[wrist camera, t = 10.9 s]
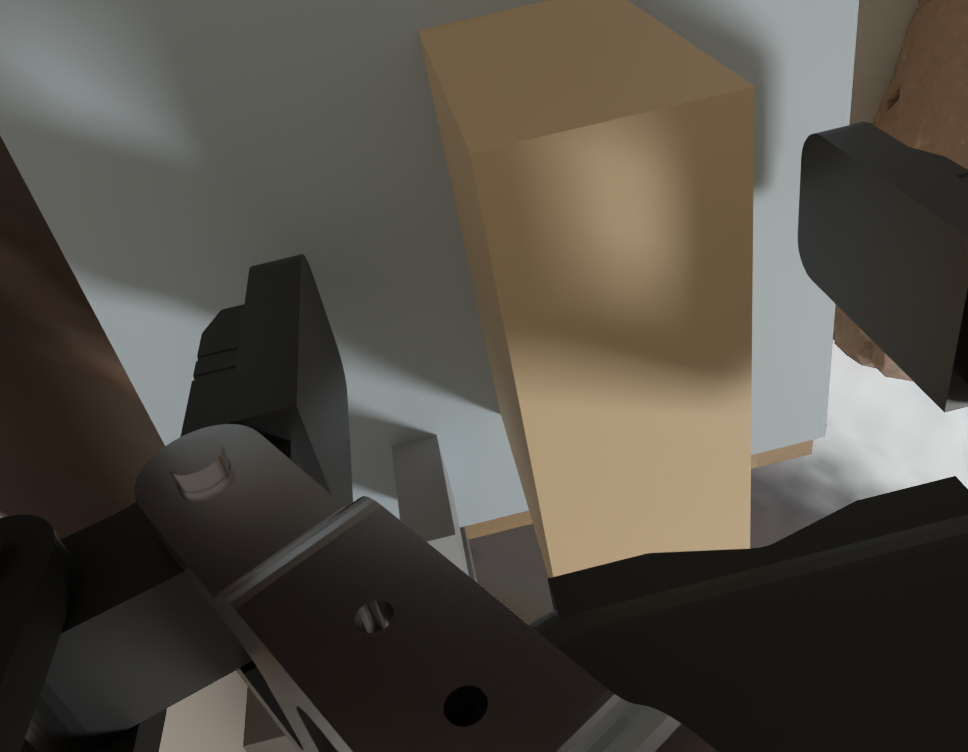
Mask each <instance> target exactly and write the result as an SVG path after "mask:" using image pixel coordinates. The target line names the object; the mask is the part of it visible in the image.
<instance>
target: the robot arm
mask: <svg viewBox="0 0 968 752" xmlns="http://www.w3.org/2000/svg"><path fill="white" fill-rule="evenodd" d="M798 249H799V254H800V258H801V261H802V264H803V267H804V269H805V271H806V273H807V275H808V276H809V278H810V279H811V280H812V281H813V282H814V283H815V284H816V285H817V286H818V287H819V288H820V289H821V290H822V291H823V292H824V293H825V294H826V295H827V296H828V297H829V298H830V299H831V300H832V301H833V302H834V303H835V304H836V305H837V306H838V307H839V308H840V309H841V310H842V311H843V312H844V313H845V314H846V315H847V316H848V317H849V318H850V319H851V320H852V321H853V322H854V323H855V324H856V325H857V326H858V327H859V328H860V329H861V330H862V331H863V332H864V333H865V334H866V335H867V336H868V337H869V338H870V339H871V340H872V341H873V342H874V343H875V344H876V345H877V346H878V347H879V348H880V349H881V350H882V351H883V352H884V353H885V354H886V355H887V356H888V357H889V358H890V359H891V360H892V361H893V362H894V363H895V364H896V365H897V366H898V367H899V368H900V369H901V370H903V371H904V372H905V373H906V374H907V375H908V376H909V377H910V378H911V379H912V380H913V381H914V382H915V383H916V384H917V385H918V386H919V387H920V388H921V389H922V390H923V391H924V392H925V393H926V394H927V395H928V396H929V397H930V398H931V399H932V400H933V401H934V402H935V403H936V404H937V405H938V406H939V407H940V408H941V409H942V410H943V411H944V412H948V411H952V410H956V409H960V408H964V407H968V170H967V169H966V168H964V167H962V166H961V165H959V164H957V163H955V162H954V161H952V160H950V159H949V158H947V157H945V156H941V155H937V154H934V153H930V152H926V151H922V150H919V149H915V148H911V147H908V146H907V145H905V144H903V143H902V142H900V141H899V140H897V139H895V138H894V137H892V136H890V135H889V134H887V133H885V132H884V131H882V130H880V129H879V128H877V127H875V126H874V125H872V124H870V123H868V122H860V123H856V124H852V125H848V126H844V127H839V128H835V129H831V130H827V131H822V132H818V133H814V134H811V135H809V136H808V137H807V139H806V140H805V142H804V145H803V149H802V155H801V173H800V195H799V217H798ZM197 358H198V361H196V364H195V369H194V373H193V377H194V381H192V383H191V388H190V393H189V398H188V402H187V407H186V412H185V417H184V422H183V426H182V431H181V436H180V438H178V439H176V440H174V441H173V442H171V443H170V444H168V445H166V446H165V447H164V448H162V449H161V450H160V451H159V452H157V453H156V454H155V455H154V456H153V457H152V458H151V459H150V460H149V461H148V462H147V463H146V465H145V466H144V467H143V468H142V470H141V472H140V474H139V475H138V477H137V480H136V483H135V488H134V495H135V500H136V502H135V503H134V504H132V505H130V506H129V507H127V508H126V509H124V510H122V511H120V512H118V513H116V514H114V515H112V516H110V517H108V518H106V519H104V520H102V521H100V522H97V523H95V524H93V525H91V526H89V527H87V528H85V529H82V530H80V531H78V532H76V533H74V534H72V535H70V536H68V537H65V538H63V539H61V540H60V538H59V537H58V535H57V534H56V532H55V531H54V529H53V528H52V527H51V525H50V524H49V523H48V522H47V521H46V520H44V519H43V518H40V517H37V516H32V515H14V516H8V517H3V518H0V752H158V751H159V747H160V742H161V737H162V731H163V727H164V722H165V717H166V710H167V708H168V707H170V706H171V705H173V704H175V703H177V702H179V701H181V700H182V699H184V698H186V697H188V696H190V695H192V694H193V693H195V692H197V691H199V690H201V689H202V688H204V687H206V686H208V685H210V684H212V683H213V682H215V681H217V680H219V679H220V678H222V677H224V676H226V675H228V674H230V673H232V672H233V671H235V670H236V671H237V672H238V674H239V675H240V676H241V678H242V679H243V680H244V682H245V683H246V684H247V685H248V687H249V688H250V689H251V691H252V692H253V693H254V695H255V696H256V697H257V699H258V700H259V701H260V703H261V704H262V705H263V707H264V708H265V709H266V711H267V712H268V713H269V714H270V716H271V717H272V718H273V720H274V721H275V722H276V724H277V725H278V726H279V728H280V729H281V730H282V732H283V733H284V734H285V735H286V737H287V738H288V739H289V741H290V742H291V743H292V745H293V746H294V747H295V749H296V750H297V751H298V752H968V489H967V488H966V487H965V486H964V485H963V484H962V483H961V482H960V481H959V479H958V478H957V477H956V476H954V477H950V478H946V479H942V480H938V481H934V482H930V483H926V484H922V485H918V486H914V487H910V488H906V489H902V490H898V491H894V492H890V493H886V494H882V495H878V496H874V497H870V498H866V499H862V500H858V501H855V502H853V503H851V504H849V505H847V506H846V507H844V508H842V509H840V510H838V511H836V512H834V513H832V514H830V515H828V516H826V517H824V518H822V519H820V520H818V521H817V522H815V523H813V524H811V525H809V526H807V527H805V528H803V529H801V530H799V531H797V532H795V533H793V534H791V535H789V536H787V537H786V538H784V539H782V540H780V541H778V542H776V543H774V544H771V545H769V546H765V547H761V548H752V549H729V550H706V551H684V552H661V553H647V554H643V555H639V556H635V557H631V558H627V559H623V560H619V561H615V562H611V563H607V564H603V565H599V566H595V567H591V568H587V569H583V570H579V571H575V572H571V573H567V574H563V575H559V576H555V577H551V578H548V583H549V588H550V593H551V598H552V603H553V608H554V611H552V612H550V613H548V614H546V615H544V616H542V617H541V618H539V619H537V620H535V621H534V622H532V623H531V624H527V623H526V622H525V621H524V620H522V619H521V618H520V617H519V616H517V615H516V614H515V613H514V612H513V611H511V610H510V609H509V608H508V607H506V606H505V605H504V604H503V603H501V602H500V601H499V600H498V599H497V598H495V597H494V596H493V595H492V594H490V593H489V592H488V591H487V590H485V589H484V588H483V587H482V586H481V585H479V584H478V583H477V582H476V581H474V580H473V579H472V578H471V577H469V576H468V575H467V574H466V573H464V572H463V571H462V570H461V569H460V568H458V567H457V566H456V565H455V564H453V563H452V562H451V561H450V560H448V559H447V558H446V557H445V556H444V555H442V554H441V553H440V552H439V551H437V550H436V549H435V548H434V547H432V546H431V545H430V544H429V543H428V542H426V541H425V540H424V539H423V538H421V537H420V536H419V535H418V534H416V533H415V532H414V531H413V530H412V529H410V528H409V527H408V526H407V525H405V524H404V523H403V522H402V521H400V520H399V519H398V518H397V517H396V516H394V515H393V514H392V513H391V512H389V511H388V510H387V509H386V508H384V507H383V506H382V505H381V504H379V503H378V502H377V501H375V500H373V499H372V498H370V497H366V496H361V497H360V498H359V499H357V500H356V501H354V502H353V490H352V471H351V452H350V433H349V415H348V396H347V385H346V378H345V373H344V369H343V365H342V361H341V357H340V353H339V350H338V347H337V344H336V341H335V338H334V335H333V332H332V329H331V326H330V323H329V320H328V317H327V315H326V312H325V309H324V306H323V303H322V300H321V297H320V294H319V291H318V288H317V285H316V282H315V279H314V276H313V273H312V271H311V268H310V265H309V263H308V261H307V259H306V257H305V256H304V254H300V255H296V256H292V257H288V258H284V259H279V260H275V261H271V262H267V263H263V264H258V265H254V266H251V267H250V268H249V274H248V281H247V289H246V296H245V303H244V304H243V305H239V306H235V307H230V308H226V309H222V310H220V312H219V313H218V314H217V315H216V317H215V318H214V319H213V320H212V322H211V323H210V324H209V325H208V326H207V328H206V329H205V330H204V331H203V333H202V335H201V340H200V344H199V349H198V354H197Z"/></svg>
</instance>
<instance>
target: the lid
mask: <svg viewBox="0 0 968 752" xmlns="http://www.w3.org/2000/svg"><path fill="white" fill-rule="evenodd" d="M858 9H859V0H0V136H1V138H2V140H3V142H4V144H5V145H6V147H7V149H8V151H9V153H10V155H11V157H12V159H13V161H14V162H15V164H16V166H17V168H18V170H19V172H20V174H21V176H22V177H23V179H24V181H25V183H26V185H27V187H28V189H29V191H30V192H31V194H32V196H33V198H34V200H35V202H36V204H37V206H38V208H39V209H40V211H41V213H42V215H43V217H44V219H45V221H46V223H47V224H48V226H49V228H50V230H51V232H52V234H53V236H54V238H55V239H56V241H57V243H58V245H59V247H60V249H61V251H62V253H63V255H64V256H65V258H66V260H67V262H68V264H69V266H70V268H71V270H72V271H73V273H74V275H75V277H76V279H77V281H78V283H79V285H80V286H81V288H82V290H83V292H84V294H85V296H86V298H87V300H88V302H89V303H90V305H91V307H92V309H93V311H94V313H95V315H96V317H97V318H98V320H99V322H100V324H101V326H102V328H103V330H104V332H105V333H106V335H107V337H108V339H109V341H110V343H111V345H112V347H113V349H114V350H115V352H116V354H117V356H118V358H119V360H120V362H121V364H122V365H123V367H124V369H125V371H126V373H127V375H128V377H129V379H130V381H131V382H132V384H133V386H134V388H135V390H136V392H137V394H138V396H139V397H140V399H141V401H142V403H143V405H144V407H145V409H146V411H147V412H148V414H149V416H150V418H151V420H152V422H153V424H154V426H155V428H156V429H157V431H158V433H159V435H160V437H161V439H162V441H163V443H164V444H165V446H166V445H168V444H170V443H171V442H173V441H174V440H176V439H178V438H180V436H181V431H182V426H183V422H184V417H185V412H186V407H187V402H188V398H189V393H190V388H191V383H192V381H194V377H193V373H194V369H195V364H196V361H198V358H197V354H198V349H199V344H200V340H201V335H202V333H203V331H204V330H205V329H206V328H207V326H208V325H209V324H210V323H211V322H212V320H213V319H214V318H215V317H216V315H217V314H218V313H219V312H220V310H222V309H226V308H230V307H235V306H239V305H243V304H244V303H245V296H246V289H247V281H248V274H249V268H250V267H251V266H254V265H258V264H263V263H267V262H271V261H275V260H279V259H284V258H288V257H292V256H296V255H300V254H304V256H305V257H306V259H307V261H308V263H309V265H310V268H311V271H312V273H313V276H314V279H315V282H316V285H317V288H318V291H319V294H320V297H321V300H322V303H323V306H324V309H325V312H326V315H327V317H328V320H329V323H330V326H331V329H332V332H333V335H334V338H335V341H336V344H337V347H338V350H339V353H340V357H341V361H342V365H343V369H344V373H345V378H346V385H347V396H348V415H349V433H350V452H351V471H352V490H353V502H354V501H356V500H357V499H359V498H360V497H361V496H366V497H370V498H372V499H373V500H375V501H377V502H378V503H379V504H381V505H382V506H383V507H384V508H386V509H387V510H388V511H389V512H391V513H392V514H393V515H394V516H396V517H397V518H398V519H399V520H400V521H402V522H403V523H404V524H405V525H407V526H408V527H409V528H410V529H412V530H413V531H414V532H415V533H416V534H418V535H419V536H420V537H421V538H423V539H424V540H425V541H426V542H428V543H429V544H430V545H431V546H432V547H434V548H435V549H436V550H437V551H439V552H440V553H441V554H442V555H444V556H445V557H446V558H447V559H448V560H450V561H451V562H452V563H453V564H455V565H456V566H457V567H458V568H460V569H461V570H462V571H463V572H464V573H466V574H467V575H468V576H469V573H468V568H467V563H466V558H465V552H464V547H463V542H462V537H461V532H460V527H464V526H468V525H472V524H476V523H480V522H484V521H489V520H493V519H497V518H501V517H505V516H509V515H513V514H517V513H521V512H525V511H529V512H530V515H531V519H532V522H533V525H534V529H535V532H536V536H537V539H538V542H539V546H540V549H541V552H542V556H543V559H544V563H545V566H546V569H547V573H548V576H549V578H551V577H555V576H559V575H563V574H567V573H571V572H575V571H579V570H583V569H587V568H591V567H595V566H599V565H603V564H607V563H611V562H615V561H619V560H623V559H627V558H631V557H635V556H639V555H643V554H647V553H661V552H684V551H706V550H729V549H750V495H751V455H753V454H757V453H761V452H765V451H769V450H773V449H777V448H781V447H785V446H789V445H793V444H797V443H801V442H805V441H809V440H813V439H817V438H821V437H825V432H826V420H827V407H828V394H829V381H830V368H831V355H832V343H833V330H834V317H835V303H834V302H833V301H832V300H831V299H830V298H829V297H828V296H827V295H826V294H825V293H824V292H823V291H822V290H821V289H820V288H819V287H818V286H817V285H816V284H815V283H814V282H813V281H812V280H811V279H810V278H809V276H808V275H807V273H806V271H805V269H804V267H803V264H802V261H801V258H800V254H799V249H798V217H799V195H800V173H801V155H802V149H803V145H804V142H805V140H806V139H807V137H808V136H809V135H811V134H814V133H818V132H822V131H827V130H831V129H835V128H839V127H844V126H848V125H849V124H850V111H851V98H852V86H853V73H854V60H855V47H856V34H857V21H858Z"/></svg>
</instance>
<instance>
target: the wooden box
mask: <svg viewBox="0 0 968 752" xmlns="http://www.w3.org/2000/svg"><path fill="white" fill-rule="evenodd" d="M812 442H813V440H809V441H805V442H801V443H797V444H793V445H789V446H785V447H781V448H777V449H773V450H769V451H765V452H761V453H757V454H753V455H751V469H753V468H757V467H761V466H765V465H769V464H773V463H777V462H781V461H785V460H789V459H793V458H797V457H801V456H805V455H809V454H812ZM532 523H533V522H532V519H531V515H530V512H529V511H525V512H521V513H517V514H513V515H509V516H505V517H501V518H497V519H493V520H489V521H484V522H480V523H476V524H472V525H468V526H464V527H460V532H461V537H462V542H463V547H464V552H465V558H466V563H467V568H468V573H469V577H471V578H472V579H473V580H474V581H476V582H477V579H476V574H475V569H474V564H473V559H472V554H471V549H470V544H469V539H472V538H476V537H480V536H484V535H488V534H492V533H496V532H500V531H504V530H508V529H512V528H516V527H520V526H524V525H528V524H532ZM243 747H244V748H245V750H246V751H247V752H298V751H297V750H296V749H295V747H294V746H293V745H292V743H291V742H290V741H289V739H288V738H287V737H286V735H285V734H284V733H283V732H282V730H281V729H280V728H279V726H278V725H277V724H276V722H275V721H274V720H273V718H272V717H271V716H270V714H269V713H268V712H267V711H266V709H265V708H264V707H263V705H262V704H261V703H260V701H259V700H258V699H257V697H256V696H255V695H254V693H253V692H252V691H251V689H250V688H249V687H248V690H247V704H246V718H245V731H244V743H243Z"/></svg>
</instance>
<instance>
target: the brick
mask: <svg viewBox="0 0 968 752" xmlns="http://www.w3.org/2000/svg"><path fill="white" fill-rule="evenodd" d="M873 125H874V126H875V127H877V128H879V129H880V130H882V131H884V132H885V133H887V134H889V135H890V136H892V137H894V138H895V139H897V140H899V141H900V142H902V143H903V144H905V145H907V146H908V147H911V148H915V149H919V150H922V151H926V152H930V153H934V154H937V155H941V156H945V157H947V158H949V159H950V160H952V161H954V162H955V163H957V164H959V165H961V166H962V167H964V168H966V169H967V170H968V0H920V4H919V8H918V10H917V12H916V14H915V15H914V17H913V19H912V21H911V23H910V25H909V29H908V31H907V33H906V36H905V40H904V43H903V46H902V49H901V52H900V55H899V58H898V61H897V64H896V67H895V72H894V76H893V78H892V80H891V82H890V84H889V86H888V87H887V90H886V92H885V95H884V98H883V101H882V103H881V106H880V108H879V111H878V113H877V115H876V118H875V120H874V123H873ZM833 339H834V340H835V344H836V345H837V346H838V347H839V348H840V349H841V350H842V351H843V352H844V353H845V354H846V355H847V356H849V357H850V358H852V359H853V360H855V361H856V362H858V363H859V364H861V365H864V366H868V367H873V368H877V369H878V370H879V371H880V372H881V373H882V374H883V375H884V376H885V377H891V378H897V379H903V380H909V381H913V380H912V379H911V378H910V377H909V376H908V375H907V374H906V373H905V372H904V371H903V370H901V369H900V368H899V367H898V366H897V365H896V364H895V363H894V362H893V361H892V360H891V359H890V358H889V357H888V356H887V355H886V354H885V353H884V352H883V351H882V350H881V349H880V348H879V347H878V346H877V345H876V344H875V343H874V342H873V341H872V340H871V339H870V338H869V337H868V336H867V335H866V334H865V333H864V332H863V331H862V330H861V329H860V328H859V327H858V326H857V325H856V324H855V323H854V322H853V321H852V320H851V319H850V318H849V317H848V316H847V315H846V314H845V313H844V312H843V311H842V310H841V309H840V308H839V307H838V306H837V305H836V304H835V317H834V330H833Z"/></svg>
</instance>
